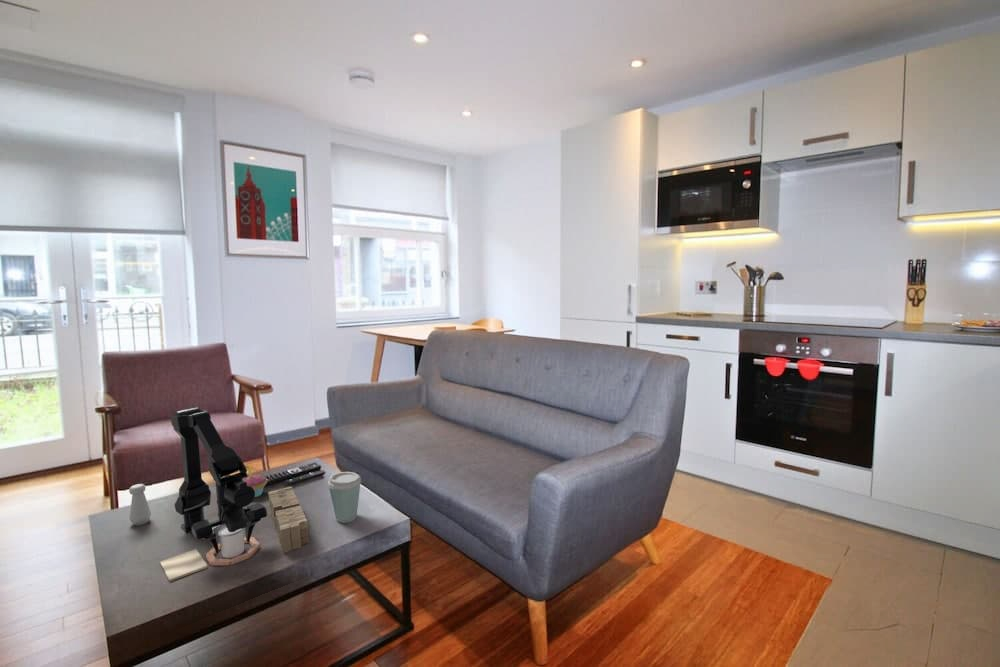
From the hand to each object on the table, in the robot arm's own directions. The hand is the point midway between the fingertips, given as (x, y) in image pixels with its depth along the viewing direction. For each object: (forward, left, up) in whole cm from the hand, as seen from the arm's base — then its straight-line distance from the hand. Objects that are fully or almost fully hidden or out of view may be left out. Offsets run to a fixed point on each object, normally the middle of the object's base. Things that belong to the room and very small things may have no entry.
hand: (232, 547), depth 144 cm
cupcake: (-36, +18, -2) cm, 40 cm away
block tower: (-2, +17, -2) cm, 17 cm away
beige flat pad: (-3, -12, -2) cm, 12 cm away
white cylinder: (0, 0, -2) cm, 2 cm away
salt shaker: (-42, -16, -2) cm, 45 cm away
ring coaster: (0, 0, -2) cm, 2 cm away
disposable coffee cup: (+6, +33, -2) cm, 34 cm away
